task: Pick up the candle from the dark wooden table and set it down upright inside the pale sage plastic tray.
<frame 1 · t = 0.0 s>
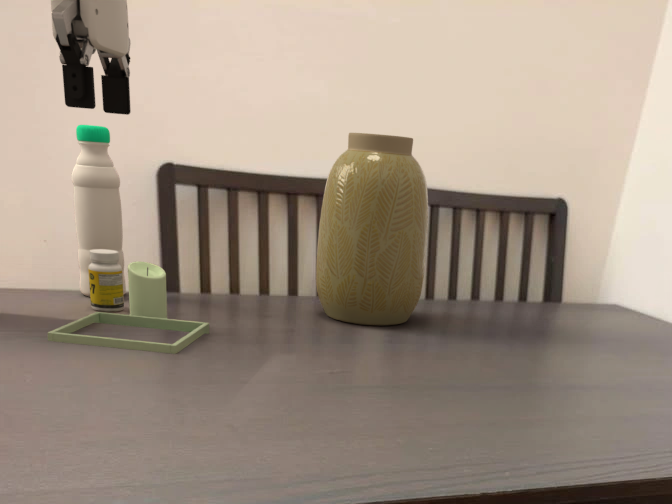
hand: (99, 110, 84), 26 cm above the table, tool pointing down, fingers open, 9 cm apart
supplement bottle: (107, 310, 110), on the table
candle: (149, 325, 103), on the table
tray: (134, 347, 90), on the table
water bottle: (103, 296, 119), on the table
vase: (366, 318, 119), on the table
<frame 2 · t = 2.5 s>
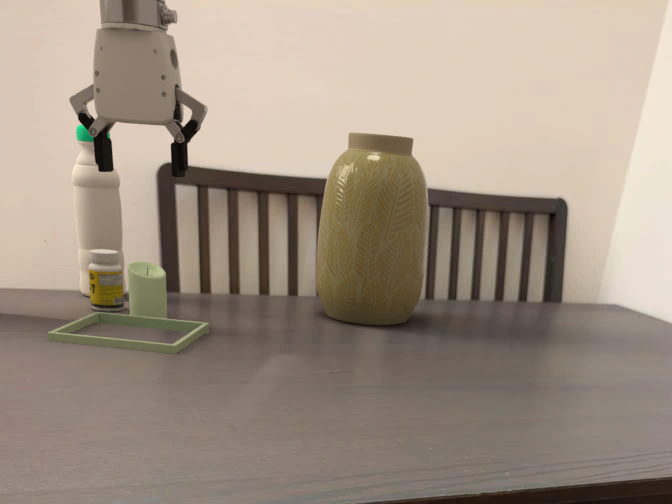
hand: (142, 174, 94), 20 cm above the table, tool pointing down, fingers open, 9 cm apart
nothing on the table moved.
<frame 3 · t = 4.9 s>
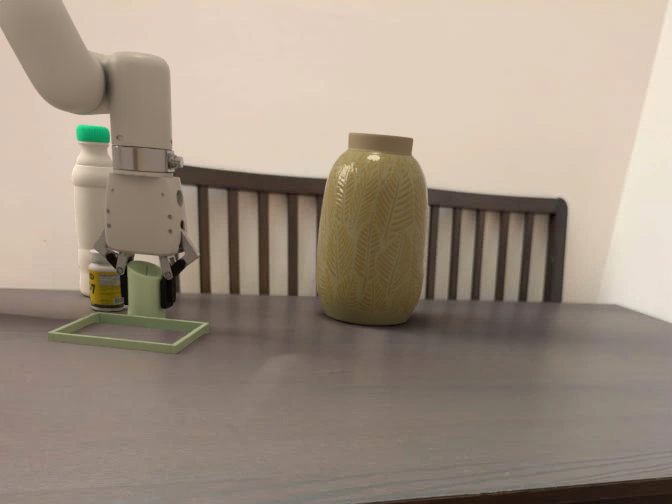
hand: (149, 304, 101), 3 cm above the table, tool pointing down, fingers closed on candle, 4 cm apart
candle: (146, 324, 103), on the table, touching gripper
everything else where it was.
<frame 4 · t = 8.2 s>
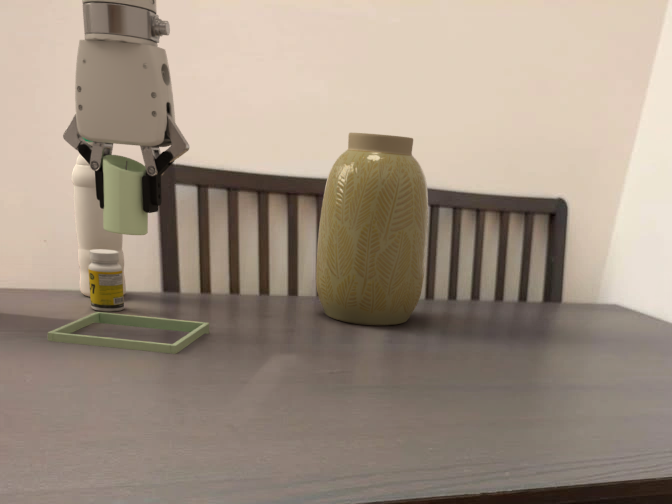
hand: (129, 208, 86), 16 cm above the table, tool pointing down, fingers closed on candle, 4 cm apart
candle: (125, 233, 87), point 13 cm above the table, touching gripper
everything else where it was.
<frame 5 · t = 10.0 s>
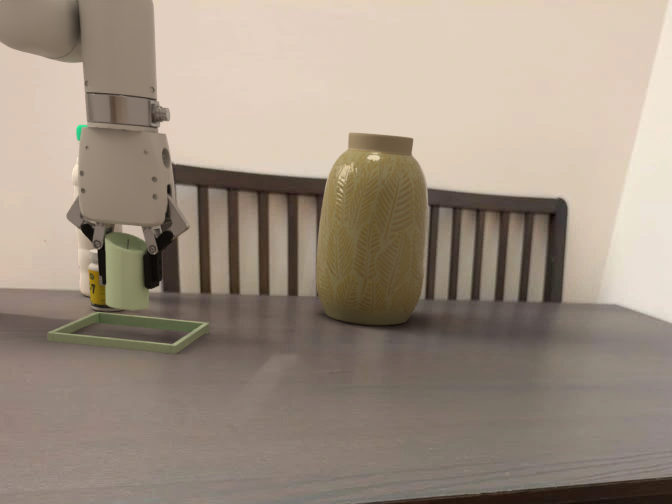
hand: (131, 283, 87), 8 cm above the table, tool pointing down, fingers closed on candle, 4 cm apart
candle: (127, 307, 88), point 5 cm above the table, touching gripper
everything else where it was.
when the fingers open (3 cm above the table, at t = 11.5 s): candle stays where it is, point 1 cm above the table.
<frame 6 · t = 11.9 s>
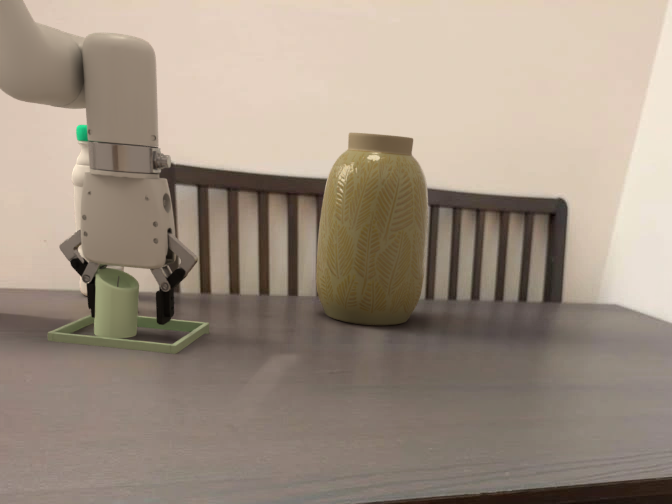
hand: (131, 318, 89), 4 cm above the table, tool pointing down, fingers open, 7 cm apart
candle: (115, 341, 90), point 1 cm above the table
everything else where it was.
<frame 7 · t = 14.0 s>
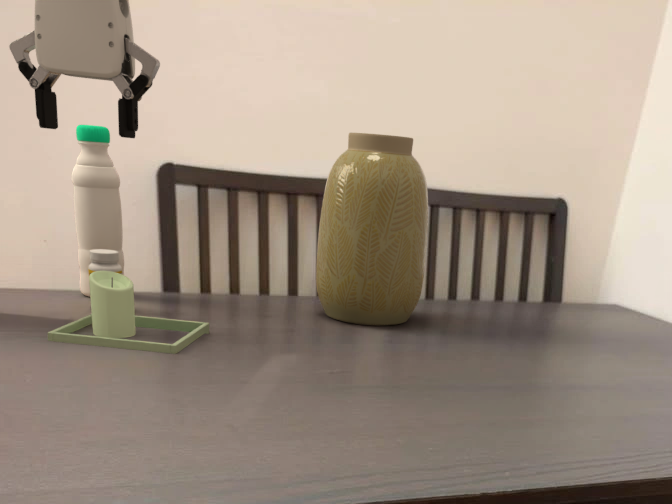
hand: (87, 133, 86), 24 cm above the table, tool pointing down, fingers open, 9 cm apart
candle: (115, 343, 90), resting on tray
everything else where it was.
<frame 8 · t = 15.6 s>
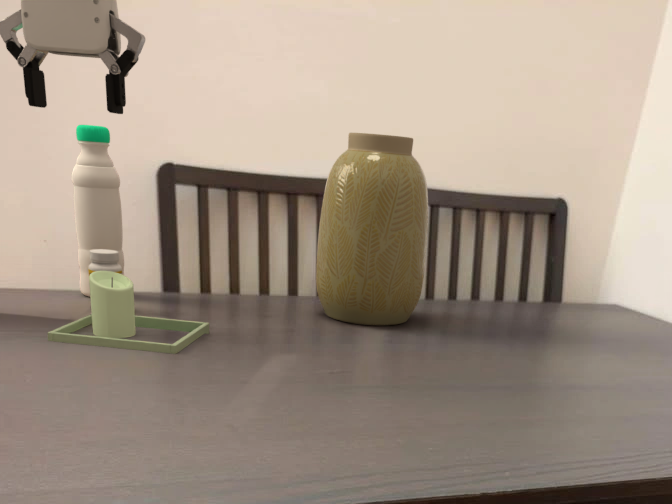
hand: (76, 109, 88), 26 cm above the table, tool pointing down, fingers open, 9 cm apart
nothing on the table moved.
at the end: candle inside the target area in the tray (2.4 cm from its centre), point 0.3 cm above the tray's base; candle tilted 0°; the gripper is holding nothing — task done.
